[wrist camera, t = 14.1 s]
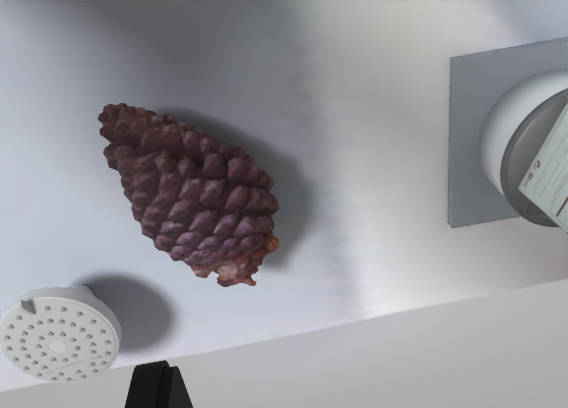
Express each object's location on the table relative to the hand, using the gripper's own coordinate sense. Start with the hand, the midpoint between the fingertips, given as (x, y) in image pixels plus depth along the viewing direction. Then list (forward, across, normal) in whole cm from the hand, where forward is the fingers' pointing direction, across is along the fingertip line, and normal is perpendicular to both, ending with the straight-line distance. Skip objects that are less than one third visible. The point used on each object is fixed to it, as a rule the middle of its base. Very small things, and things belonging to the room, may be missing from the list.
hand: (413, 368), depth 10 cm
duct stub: (+30, -20, +10) cm, 38 cm away
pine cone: (+31, +8, +8) cm, 33 cm away
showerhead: (+31, +22, +18) cm, 42 cm away
